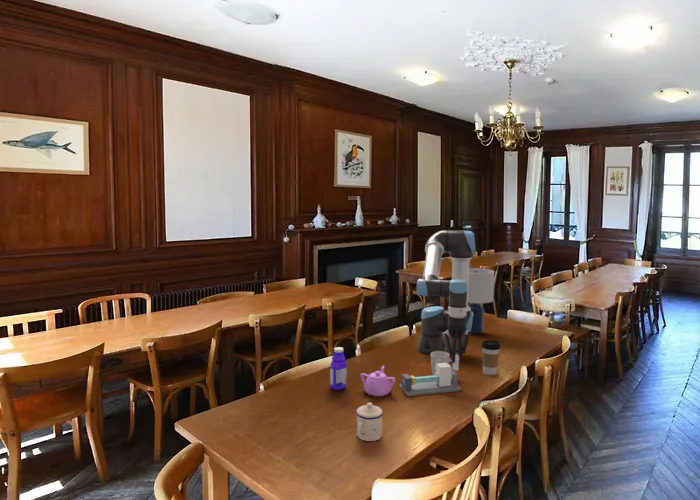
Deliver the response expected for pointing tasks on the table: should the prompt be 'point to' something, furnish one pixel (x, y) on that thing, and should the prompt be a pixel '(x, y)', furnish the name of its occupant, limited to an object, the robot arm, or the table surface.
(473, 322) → the lamp
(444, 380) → the white slider block
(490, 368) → the coffee cup
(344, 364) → the bottle
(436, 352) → the mug
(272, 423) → the table surface
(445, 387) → the slider rail
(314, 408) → the table surface
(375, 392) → the teapot
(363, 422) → the teacup with lid
